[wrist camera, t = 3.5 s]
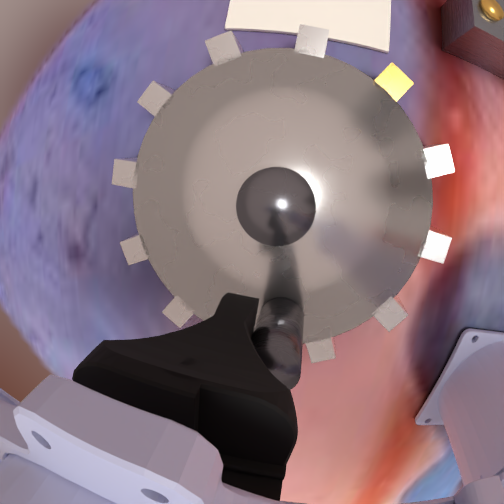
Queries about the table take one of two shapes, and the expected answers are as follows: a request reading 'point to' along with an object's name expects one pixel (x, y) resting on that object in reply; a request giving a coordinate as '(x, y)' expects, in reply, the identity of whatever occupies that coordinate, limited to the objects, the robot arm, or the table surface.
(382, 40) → the pad
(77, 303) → the table surface
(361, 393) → the table surface
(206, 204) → the sprocket
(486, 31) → the gray knob block
